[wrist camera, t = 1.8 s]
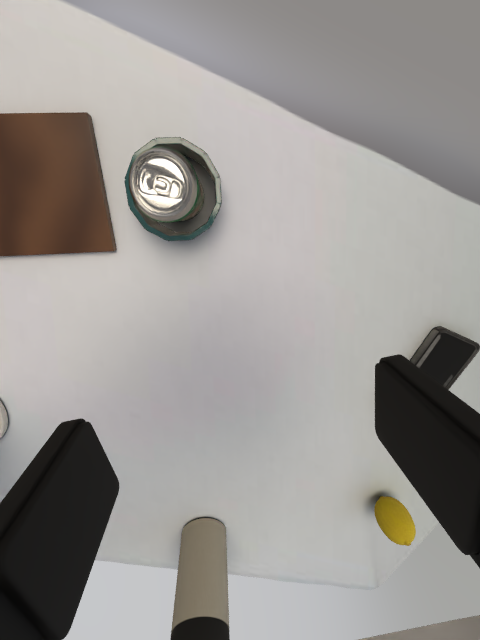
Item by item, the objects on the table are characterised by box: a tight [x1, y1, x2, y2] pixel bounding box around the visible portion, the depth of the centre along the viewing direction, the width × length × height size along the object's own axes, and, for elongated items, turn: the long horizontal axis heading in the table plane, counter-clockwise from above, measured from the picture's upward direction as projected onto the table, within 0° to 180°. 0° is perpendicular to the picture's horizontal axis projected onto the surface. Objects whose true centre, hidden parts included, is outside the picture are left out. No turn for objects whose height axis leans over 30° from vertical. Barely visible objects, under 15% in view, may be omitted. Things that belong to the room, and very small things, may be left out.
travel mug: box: [171, 518, 229, 640], centre depth 42 cm, size 8×8×18 cm
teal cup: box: [125, 137, 222, 241], centre depth 28 cm, size 9×9×6 cm
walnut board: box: [0, 113, 116, 256], centre depth 28 cm, size 20×13×1 cm, turn 92°
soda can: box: [128, 146, 204, 223], centre depth 25 cm, size 5×5×12 cm
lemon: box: [374, 496, 416, 546], centre depth 47 cm, size 6×6×8 cm
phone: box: [410, 327, 480, 390], centre depth 41 cm, size 8×1×15 cm
